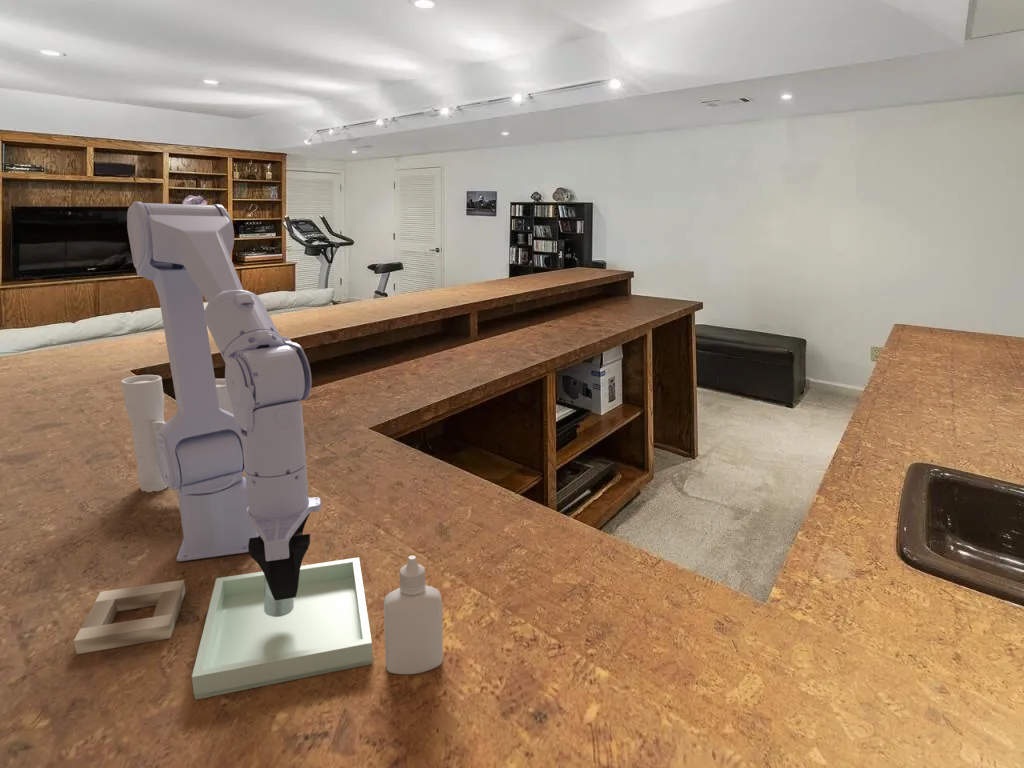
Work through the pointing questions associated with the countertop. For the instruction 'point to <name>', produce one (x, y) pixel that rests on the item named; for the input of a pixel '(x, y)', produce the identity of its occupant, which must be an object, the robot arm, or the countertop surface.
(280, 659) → the tray
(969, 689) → the countertop surface
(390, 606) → the eye dropper bottle
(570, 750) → the countertop surface
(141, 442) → the binoculars
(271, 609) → the pin
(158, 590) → the pin collar
